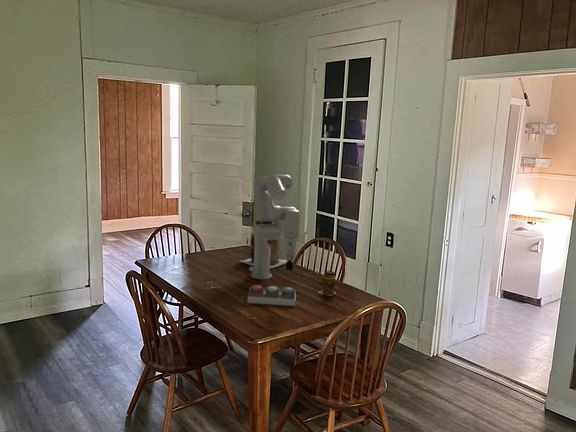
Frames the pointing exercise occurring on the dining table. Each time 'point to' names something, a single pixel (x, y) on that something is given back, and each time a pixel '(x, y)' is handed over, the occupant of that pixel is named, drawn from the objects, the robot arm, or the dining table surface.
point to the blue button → (288, 290)
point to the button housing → (272, 297)
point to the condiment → (328, 284)
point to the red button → (257, 288)
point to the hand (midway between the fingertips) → (289, 269)
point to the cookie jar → (274, 251)
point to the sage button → (272, 289)
